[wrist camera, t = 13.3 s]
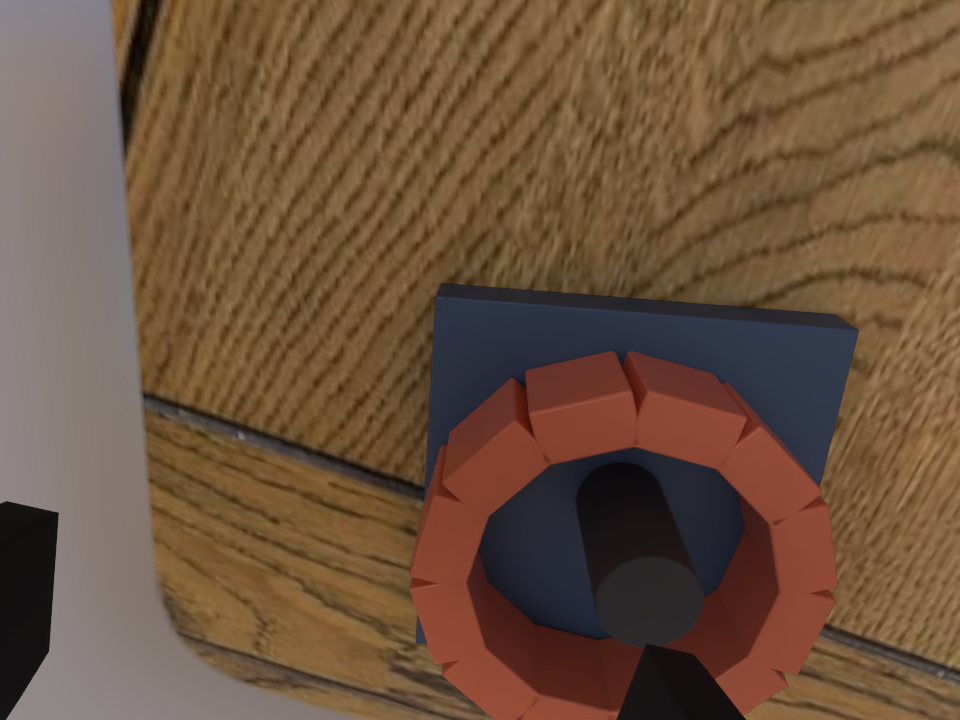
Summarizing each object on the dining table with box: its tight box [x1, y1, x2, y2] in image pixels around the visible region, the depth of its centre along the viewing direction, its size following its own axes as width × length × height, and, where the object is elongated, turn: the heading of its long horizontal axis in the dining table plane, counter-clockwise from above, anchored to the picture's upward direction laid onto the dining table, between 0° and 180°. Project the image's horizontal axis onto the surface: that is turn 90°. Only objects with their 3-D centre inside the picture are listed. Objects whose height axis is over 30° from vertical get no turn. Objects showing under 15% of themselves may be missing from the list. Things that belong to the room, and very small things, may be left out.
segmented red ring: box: [410, 351, 838, 720], centre depth 17 cm, size 8×8×2 cm
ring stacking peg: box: [416, 283, 859, 647], centre depth 16 cm, size 9×9×5 cm
